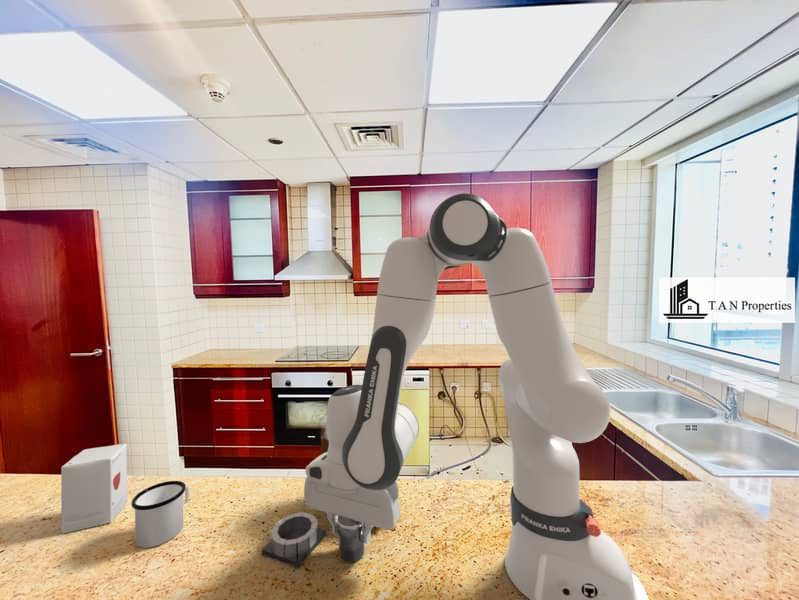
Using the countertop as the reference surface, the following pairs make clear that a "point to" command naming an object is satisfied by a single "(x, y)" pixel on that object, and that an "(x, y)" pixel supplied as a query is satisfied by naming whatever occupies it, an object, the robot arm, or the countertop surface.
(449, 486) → the countertop surface
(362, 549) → the lens
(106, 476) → the supplement box
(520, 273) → the robot arm
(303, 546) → the mount
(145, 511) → the mug
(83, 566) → the countertop surface
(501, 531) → the countertop surface
